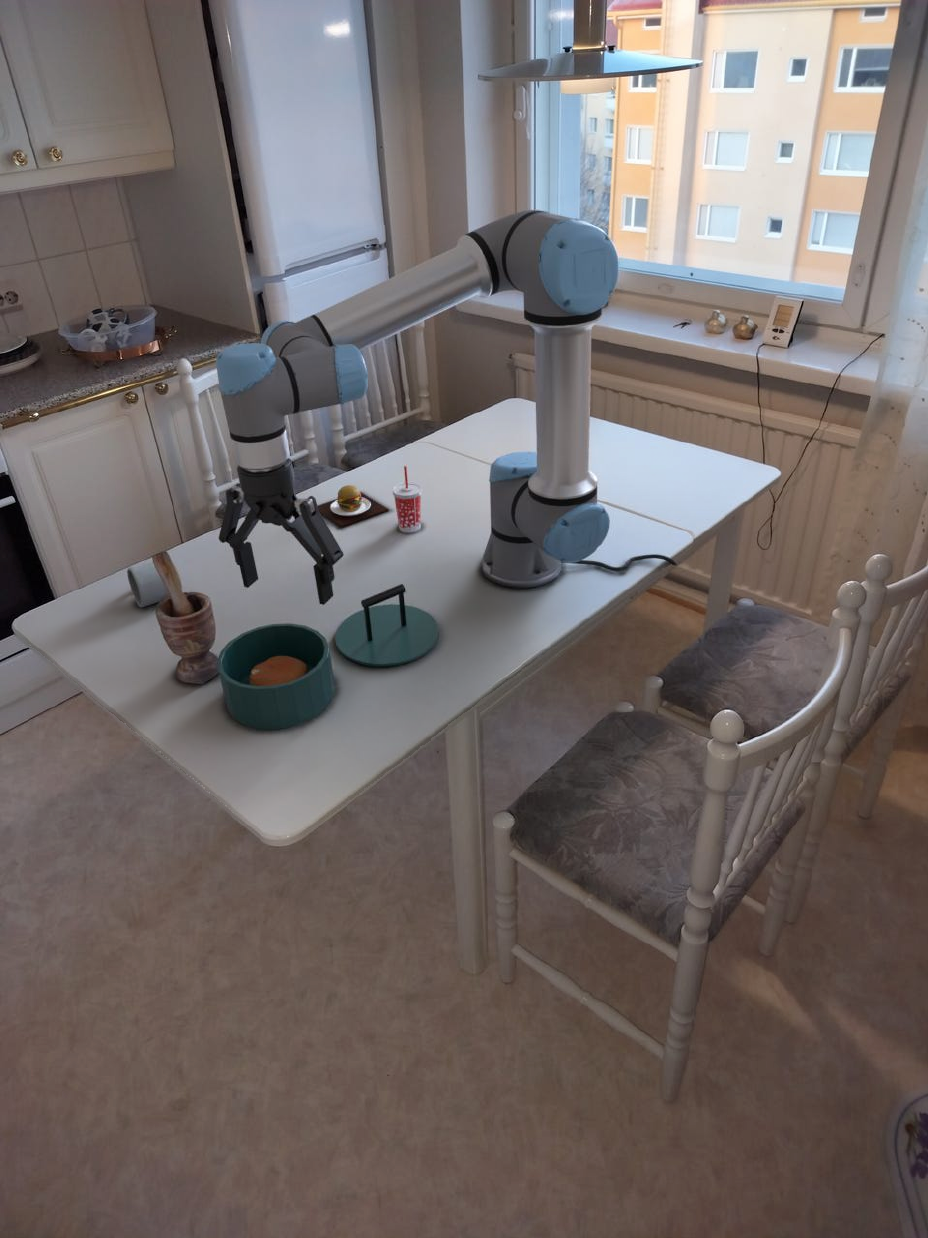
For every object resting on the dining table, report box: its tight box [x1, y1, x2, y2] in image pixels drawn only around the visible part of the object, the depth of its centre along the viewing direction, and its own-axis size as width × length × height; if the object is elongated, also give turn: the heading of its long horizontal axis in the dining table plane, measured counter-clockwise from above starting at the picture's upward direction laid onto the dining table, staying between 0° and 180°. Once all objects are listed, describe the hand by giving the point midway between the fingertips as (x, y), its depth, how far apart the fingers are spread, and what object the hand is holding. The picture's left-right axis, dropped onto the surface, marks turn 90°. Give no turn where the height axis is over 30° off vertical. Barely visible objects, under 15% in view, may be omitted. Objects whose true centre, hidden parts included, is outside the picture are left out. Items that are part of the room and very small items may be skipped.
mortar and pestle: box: [151, 550, 219, 685], centre depth 140 cm, size 12×9×20 cm
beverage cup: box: [391, 465, 423, 534], centre depth 180 cm, size 6×6×14 cm
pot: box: [217, 622, 335, 731], centre depth 137 cm, size 17×17×8 cm
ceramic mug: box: [126, 561, 183, 608], centre depth 163 cm, size 11×8×8 cm
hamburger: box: [317, 484, 390, 529], centre depth 191 cm, size 12×12×6 cm
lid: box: [334, 583, 440, 667], centre depth 148 cm, size 18×18×9 cm
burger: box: [249, 656, 308, 686], centre depth 137 cm, size 10×9×5 cm
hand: (288, 591), depth 131 cm, fingers open, 13 cm apart
